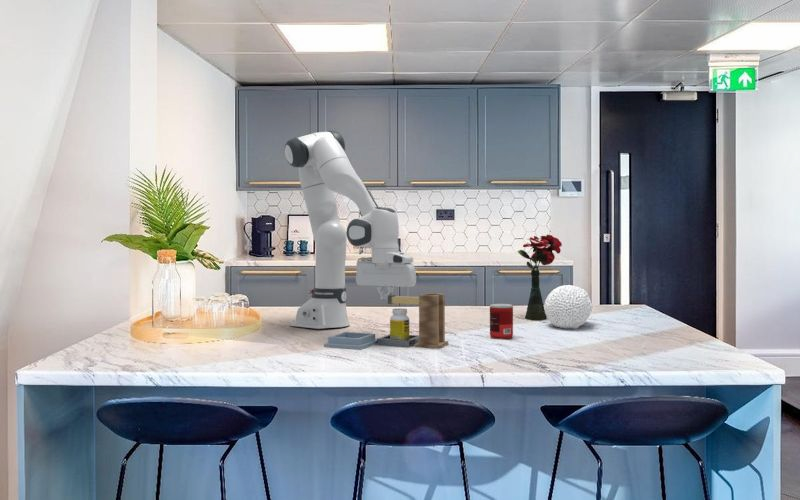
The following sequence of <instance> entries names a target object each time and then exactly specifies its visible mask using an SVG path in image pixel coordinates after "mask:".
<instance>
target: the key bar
mask: <svg viewBox="0 0 800 500" xmlns="http://www.w3.org/2000/svg"><path fill="white" fill-rule="evenodd" d="M387 304H388V305H393V304H402V305H403V304H405V305H406V304H407V305H409V304H410V305H419V296H408V295H405V296H404V295H402V296H401V295H396V294H391V295H390V296H388V300H387Z"/></svg>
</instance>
